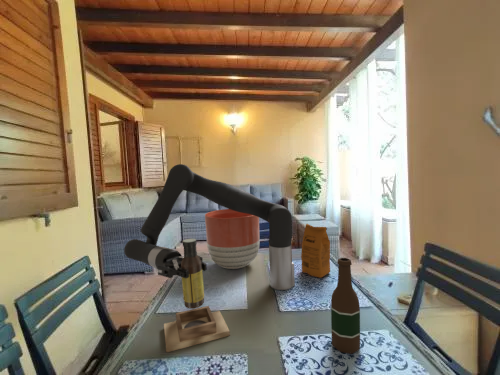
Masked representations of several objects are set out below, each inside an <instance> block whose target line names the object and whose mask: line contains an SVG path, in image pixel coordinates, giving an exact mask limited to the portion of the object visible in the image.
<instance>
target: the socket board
mask: <svg viewBox="0 0 500 375" xmlns="http://www.w3.org/2000/svg"><path fill="white" fill-rule="evenodd" d="M163 329H164V330H163V331H164V332H163V333H164V339H165V340H164V341H165V351H166V353H167V354H168V353H170V352H174V351H177V350H178V351H179V350H180V349H185V348H188V347H192V346H195V345H200V344H204V343H207V342H211V341H215V340H218V339H222V338H225V337H229V336H230V335H231V331H230V329H229V327H228V325H227V322H226V321H225V319H224V316H223V315H222V313H221V310H217V311H213V312H212V311H211V308H210V306H209V305H206V306H202V307H201V306H200V307H198V308H194V309H188V310H185V311H184V310H183V311H180V312H176V313H175V320H174V321H171V322H165V323H163Z"/></svg>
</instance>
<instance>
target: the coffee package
mask: <svg viewBox="0 0 500 375" xmlns="http://www.w3.org/2000/svg"><path fill="white" fill-rule="evenodd" d="M327 230H328V227H326V226H314V225H311V224H308V223H306V224H305V228H304V231H303V236H302V241H301V256H300V257H301V258H300V259H301V273H304V274H308V275H309V276H310V277H314V278H318V279H319V278H323V277H325V276H326V275H328V274H330V272H331V263H330V262H331V261H330V260H331V241H330V238H329V236H328V233H327Z"/></svg>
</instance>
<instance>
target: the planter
mask: <svg viewBox="0 0 500 375" xmlns="http://www.w3.org/2000/svg"><path fill="white" fill-rule="evenodd" d="M204 221H205V236H206V247H207V252H208V255H209V257H210V259H211V261H212V262H214V263H215V265H218V266H219V267H221V268H222V269H227V270H228V269H229V270H236V269H242V268H245V267H247V266H248V265H249V264H251V263H252V262H253V261H254V260H255V259H256V258H257V255H258V253H259V250H260V218H259V217H257V216H255V215H251V214H247V213H241V212H237V211H233V210H231V209H228V208H226V209H225V208H224V209H217V210H212V211H209V212H207V213H205V214H204Z"/></svg>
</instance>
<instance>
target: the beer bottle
mask: <svg viewBox="0 0 500 375" xmlns="http://www.w3.org/2000/svg"><path fill="white" fill-rule="evenodd" d="M352 264H353V263H352V259H351V258H348V257H340V258H338V259H337V265H338V268H337V272H338V273H337V285H336V287H335V289H334V290H333V292H332V294H331V300H330V301H331V302H330V306H331V307H330V314H331V316H330V320H331V345H332V347H334V348H335V349H336V350H337V351H338V352H340V353H344V354H345V353H346V354H350V355H352V354H354V353H357V352H358V351H360V350H361V308H360V302H359V297H358V294H357V292H356V291H355V289H354V288H353V281H352V269H351V266H352Z"/></svg>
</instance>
